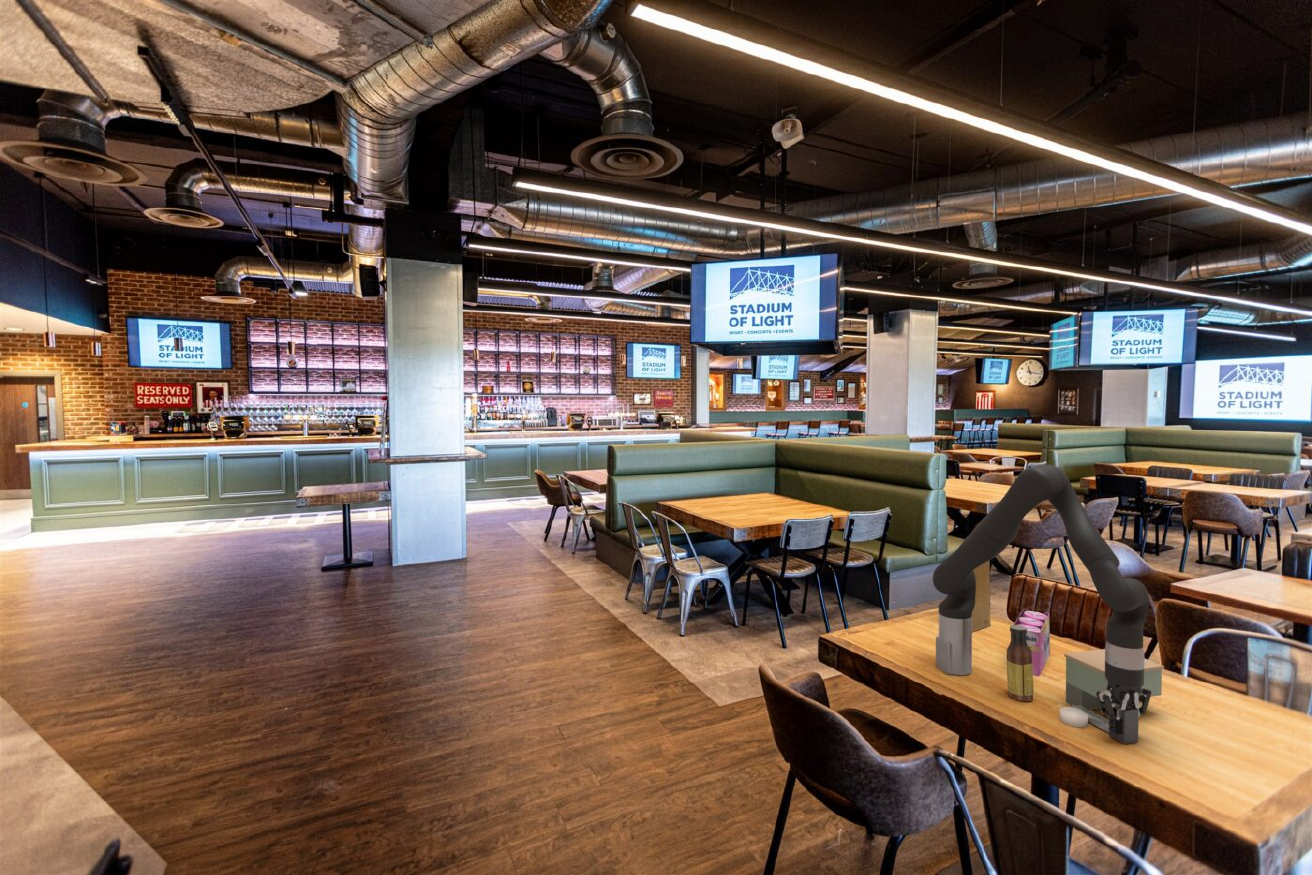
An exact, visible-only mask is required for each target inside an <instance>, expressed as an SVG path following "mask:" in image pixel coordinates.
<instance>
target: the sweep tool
mask: <svg viewBox="0 0 1312 875" xmlns="http://www.w3.org/2000/svg"><path fill="white" fill-rule="evenodd" d="M1115 704H1116V705H1118V706H1120V705H1119V704H1117V703H1115ZM1072 708H1076V709H1079V710H1082V711H1084V712H1085V713H1087V714H1088V723H1090V724H1092V725H1093V726H1095V727H1097V728H1098V729H1100V730H1102V731H1104V732H1106V733H1108V736H1109V737H1111V738H1113V739H1114V740H1116V741H1118V742H1119V743H1121V744H1124V745H1128V744H1135V743H1139V718H1140V716H1139V709H1135V708H1133V707H1131V706H1129V705H1126V708H1125V710H1123V711H1122V713H1121V719H1120V720H1121V734H1119V735H1117V734H1115V733H1113V732H1111V730H1110V728H1109V719H1107V718H1105V717H1103V716H1101V715H1100V714H1098V713H1096V712H1094V711H1092V710H1091V709H1089V710H1088V709H1086V708H1084V707H1082V706H1081V705H1072ZM1116 711H1117V710H1116V709H1115V708H1114V713H1116Z"/></svg>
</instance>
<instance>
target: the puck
mask: <svg viewBox="0 0 1312 875" xmlns="http://www.w3.org/2000/svg"><path fill="white" fill-rule="evenodd" d="M1059 721H1060V722H1062V723H1063V724H1065V725H1067V726H1071V727H1074V728H1082V729H1083V728H1084V729H1085V728H1087V727H1088V726H1089V722H1088V714H1087V713H1085V712H1084V711H1082V710H1079V709H1076V708H1073V706H1072V707H1071V706H1063V707H1060V708H1059Z"/></svg>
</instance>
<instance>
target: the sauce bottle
mask: <svg viewBox="0 0 1312 875" xmlns="http://www.w3.org/2000/svg"><path fill="white" fill-rule="evenodd" d="M1009 631H1010V643H1009V644H1008V647H1007V648H1006V675H1007V677H1006V678H1007V692H1008V695H1009V696H1010V698H1012V699H1014V700H1017V701H1022V702H1031V701H1033V700H1034V693H1035V692H1034V690H1035V689H1034V685H1035V684H1034V675H1033V662H1032V652H1031V650H1030V648H1029V646H1028V645H1027V641H1026V634H1027V628H1026V627H1024V626H1020V625H1013V624H1012V625H1010V627H1009Z"/></svg>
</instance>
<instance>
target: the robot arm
mask: <svg viewBox="0 0 1312 875" xmlns="http://www.w3.org/2000/svg"><path fill="white" fill-rule="evenodd" d="M1046 501H1048V502H1049V503H1050V504H1051V505H1052V507H1053V508H1054V509H1055V510H1056V511H1057V512H1058V514H1059V516H1060V518H1061V520H1062V523H1063V525H1064V529H1065V532H1066V533H1065V534H1066V535H1067V539H1068V541H1069V545H1070V546H1071V548H1072V550H1073V551H1074V553H1075V554H1076V555H1077V557H1078V559H1079V560H1080V561H1081V562H1082V564H1083V565H1084V567H1085V568H1086V569H1087V570H1088V573H1089V574H1090V578H1091V581H1092V582H1093V585H1094V588H1095V589H1096V592H1097V594H1098V595H1099V597H1100V598H1101V600H1102V601H1103V603H1104V604H1105V605H1106V606H1108V608H1111V609H1112V611H1113V612H1112V615H1111V616H1110V618H1108V620H1107V622H1106V636H1105V637H1106V639H1105V641H1106V642H1105V646H1104V649H1105V678H1106V679H1107V681H1108V686H1107V688H1106V691H1104V692H1100V691H1097V693H1096V695H1097V699H1098V702H1099V706H1100V708H1099V709H1100V711H1101V714H1103V715H1105V716H1106V717H1108V720H1109V728H1110V730H1111V732H1113V733H1115V734H1117V735H1119V734H1121V720H1120V719H1121V713H1122V711H1123V710H1125V708H1126V705H1129V706H1131V707H1133V708H1135V709H1139V717H1140V716H1141V715H1145V714H1146V713H1147V710H1148V705H1149V702H1150V698H1151V697H1150V696H1151V691H1150V690H1148V689H1146V688H1144V687H1142V686H1143V685H1144V658H1145V652H1144V626H1145V624H1146V623H1145V622H1146V618H1147V615H1148V611H1149V605H1150V595H1149V591H1148V589H1147V587H1146V586H1145V584H1144V583H1143V582H1141V581H1139V580H1138V579H1135V578H1131V577H1126V578H1124V577H1123V575H1122V573H1121V571H1120V569H1119V566H1120V564H1121V562H1120V560H1119V558H1118V556H1117V555H1116V553H1114V551H1113V549H1112V548H1111V546H1110V545H1109V544H1108V543H1107V542H1106V540H1105V539H1104V537H1103V536H1102V535H1101V533H1100V531H1099V530H1098V529H1097V528H1096V526H1095V524H1094V523H1093V522H1092V519H1091V518H1090V516H1089V515H1088V513H1087V511H1086V509H1085V508H1084V506H1083V504H1082V502H1081V501H1080V499H1079V497H1078V494H1077V493H1076V491H1075V489H1074V488H1073V486H1072V483H1071V482H1070V479H1069V478H1068V476H1067V474H1066V473H1065V472H1064V471H1063V470H1062V469H1061V468H1059V467H1058V466H1055V465H1053V464H1043V465H1037V466H1031V467H1028V468H1025V469H1023V471H1021V472H1020V473H1019V474H1018V475H1017V477H1016V478H1015V479H1014V481H1013V482H1012V484H1011V486H1010V487H1009V488H1008V490H1007V491H1006V492H1005V494H1004V496H1002V498H1001V499H1000V501H999V502H998V503H997V504H996V505H995V506H994V507H993V508H991V510H990V511H989V512H988V513H987V514H986V516H984V517H983V518H982V520H981V521H980V522H979V523H978V524H977V525H976V526H975V527H974V528H973V529H972V531H971V533H970V534H969V535H968V536H967V537H966V538H965V539H964V540H963V541H962V543H961V544H960V545H959V546H958V547H957V548H956V549H955V550H954V552H952V553H951V555H949V556H948V557H947V558H945V560H944V561H942V562H941V563H940V564H938V566H936V568H935V569H934V571H933V574H932V584H933V587H934V588H935V590H936V591H938V592H940V593H941V594H943V595H947V596H946V597H945V598H944V599H943V600H942V601H940V603H939V604H938V636H935V667H936V668H938V669H939V670H941V671H943V672H944V673H946V674H947V675H954V676H955V675H956V676H967V675H970V674H972V673H973V672H972V671H973V668H972V667H973V640H972V638H973V632H972V611H973V609H974V606H975V595H976V577H975V574H974V571H973V570H974V569H975V568H977V567H978V566H980V565H982V564H984V563H985V562H987V561H989V560H990V561H991V560H992V559H994V558H995V557H997V556H998V555H1000V554H1001V553H1002V552H1003V551H1005V549H1006V548H1007V547H1008V546H1009V545H1010V544H1011V543H1012V542H1013V541H1014V540H1015V538H1016V536H1017V535H1018V533H1019V530H1020V528H1021V524H1022V521H1023V519H1025V517H1026V516H1027V515H1028V514H1029V513H1030V512H1031V511H1032V510H1033V509H1034V508H1036V507H1037V506H1039V505H1040V504H1041V503H1042V502H1043V503H1044V502H1046ZM1114 702H1115V703H1117V704H1119V705H1120V706H1118V705H1116V704H1115V703H1114ZM1140 703H1141V705H1140ZM1114 708H1115V709H1116V710H1117V711H1116V713H1114Z"/></svg>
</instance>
